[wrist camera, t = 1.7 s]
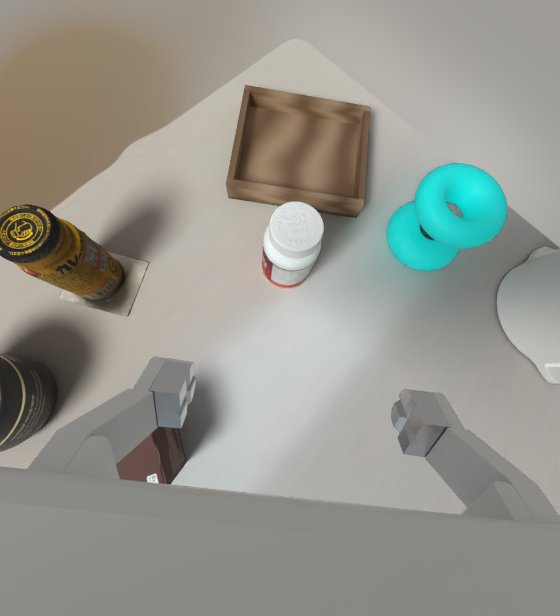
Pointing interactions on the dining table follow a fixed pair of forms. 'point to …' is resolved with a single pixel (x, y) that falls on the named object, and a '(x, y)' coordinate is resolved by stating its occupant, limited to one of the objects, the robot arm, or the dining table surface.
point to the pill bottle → (291, 244)
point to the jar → (23, 399)
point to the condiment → (69, 259)
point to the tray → (300, 151)
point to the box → (154, 458)
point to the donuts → (447, 217)
